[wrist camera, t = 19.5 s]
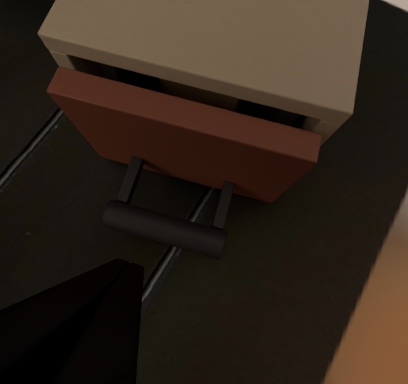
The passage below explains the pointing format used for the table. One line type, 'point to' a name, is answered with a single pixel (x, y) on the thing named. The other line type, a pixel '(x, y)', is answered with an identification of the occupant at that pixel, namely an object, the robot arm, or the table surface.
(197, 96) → the block
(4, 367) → the robot arm
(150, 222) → the drawer
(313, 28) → the cabinet
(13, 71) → the table surface
